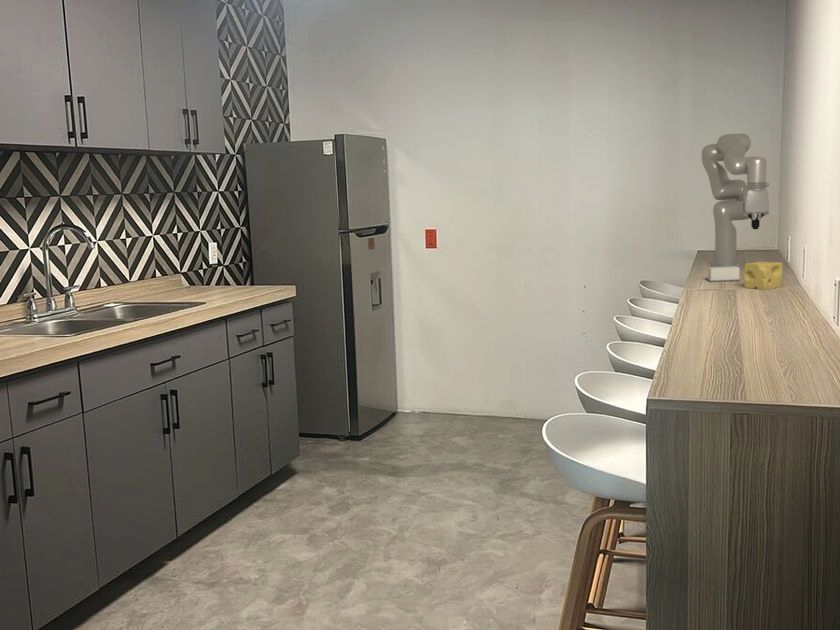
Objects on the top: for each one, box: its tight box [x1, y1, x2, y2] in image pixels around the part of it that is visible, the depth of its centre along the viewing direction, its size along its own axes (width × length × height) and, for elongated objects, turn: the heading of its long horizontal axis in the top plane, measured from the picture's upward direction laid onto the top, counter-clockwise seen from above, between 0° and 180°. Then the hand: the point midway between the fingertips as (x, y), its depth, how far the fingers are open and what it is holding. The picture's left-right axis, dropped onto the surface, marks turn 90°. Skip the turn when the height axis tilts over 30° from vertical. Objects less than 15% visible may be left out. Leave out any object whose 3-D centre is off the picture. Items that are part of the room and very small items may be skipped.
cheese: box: [743, 261, 784, 291], centre depth 338 cm, size 10×11×10 cm
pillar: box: [707, 266, 741, 280], centre depth 363 cm, size 5×5×12 cm
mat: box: [704, 277, 740, 283], centre depth 364 cm, size 10×12×1 cm
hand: (755, 228), depth 369 cm, fingers closed
